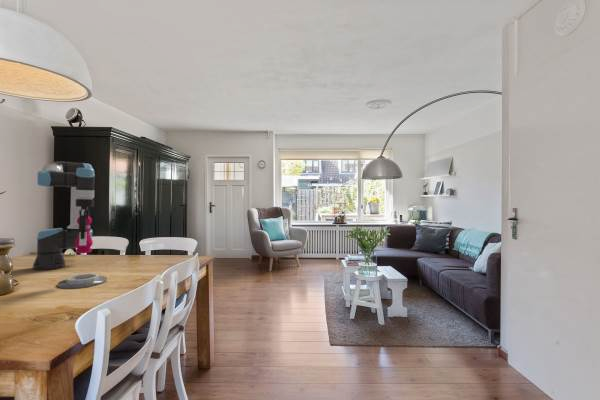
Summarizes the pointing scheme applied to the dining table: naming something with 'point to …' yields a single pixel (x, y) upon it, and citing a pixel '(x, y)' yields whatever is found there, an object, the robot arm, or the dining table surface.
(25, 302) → the dining table surface
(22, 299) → the dining table surface
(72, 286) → the ring seat
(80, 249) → the pepper mill
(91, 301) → the dining table surface
